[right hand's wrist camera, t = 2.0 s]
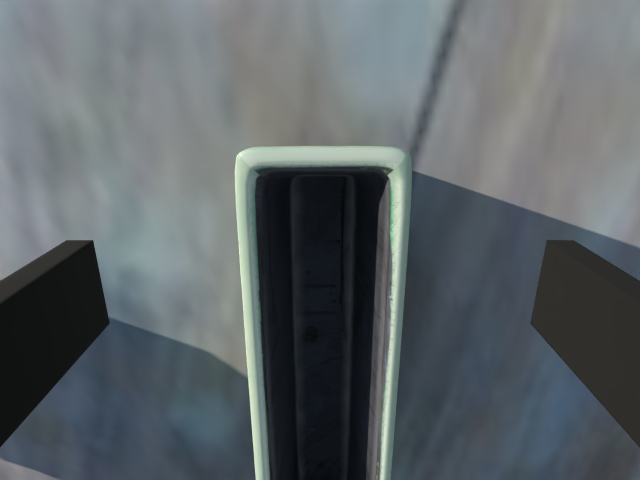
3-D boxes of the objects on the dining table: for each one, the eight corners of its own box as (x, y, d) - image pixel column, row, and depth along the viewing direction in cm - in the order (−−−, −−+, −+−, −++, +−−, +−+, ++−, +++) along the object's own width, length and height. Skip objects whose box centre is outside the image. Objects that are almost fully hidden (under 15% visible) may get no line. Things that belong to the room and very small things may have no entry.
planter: (256, 128, 23) (228, 148, 16) (389, 128, 23) (417, 147, 16) (276, 496, 33) (264, 605, 26) (369, 497, 32) (382, 606, 26)
